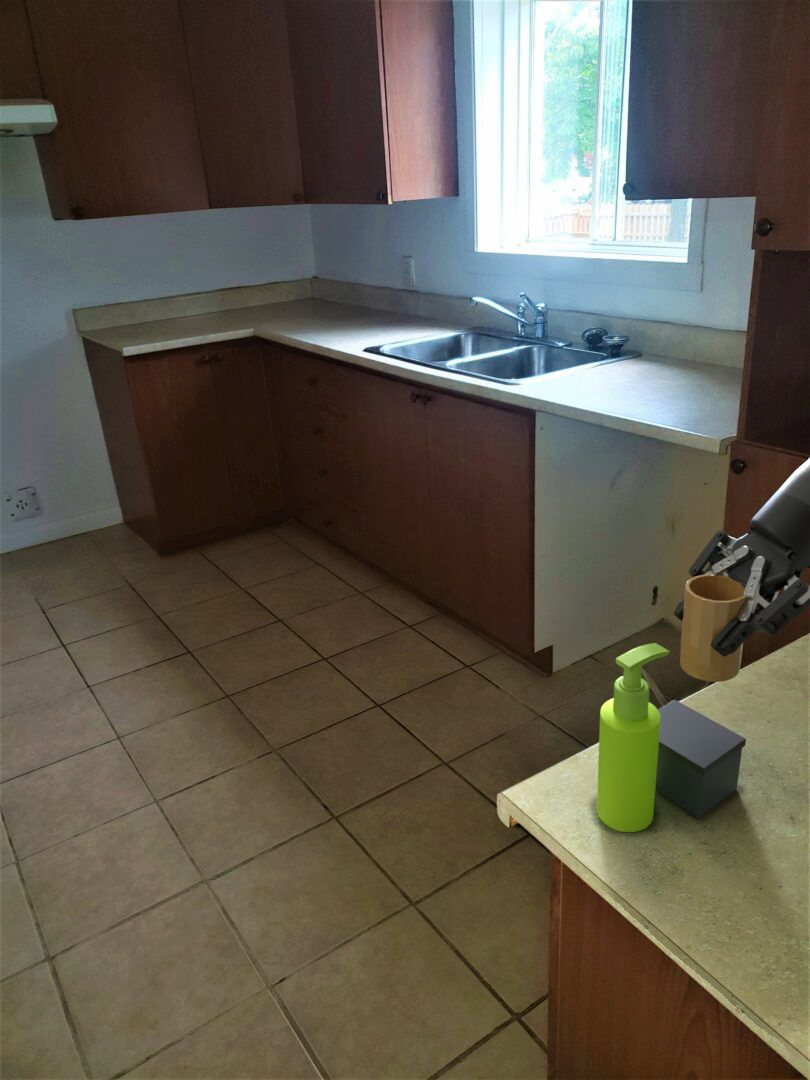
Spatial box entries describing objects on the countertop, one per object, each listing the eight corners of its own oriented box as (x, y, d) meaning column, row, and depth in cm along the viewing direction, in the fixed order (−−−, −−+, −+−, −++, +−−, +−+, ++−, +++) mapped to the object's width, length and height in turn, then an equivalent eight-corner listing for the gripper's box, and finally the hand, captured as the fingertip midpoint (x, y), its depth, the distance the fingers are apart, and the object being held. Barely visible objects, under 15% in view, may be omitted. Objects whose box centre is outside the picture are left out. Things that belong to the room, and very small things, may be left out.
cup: (751, 666, 86) (760, 588, 82) (716, 689, 83) (724, 608, 79) (703, 644, 91) (709, 568, 87) (668, 664, 88) (673, 587, 84)
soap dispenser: (672, 813, 87) (686, 656, 78) (623, 840, 84) (632, 681, 76) (632, 781, 92) (641, 630, 83) (585, 806, 89) (589, 652, 80)
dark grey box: (739, 789, 89) (746, 738, 86) (698, 820, 86) (704, 769, 83) (670, 747, 96) (674, 698, 93) (629, 774, 93) (632, 725, 90)
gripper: (745, 468, 87) (640, 587, 90) (845, 518, 74) (719, 654, 77) (782, 505, 90) (680, 619, 93) (883, 559, 78) (762, 688, 80)
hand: (698, 634), depth 85 cm, fingers closed on cup, 6 cm apart
